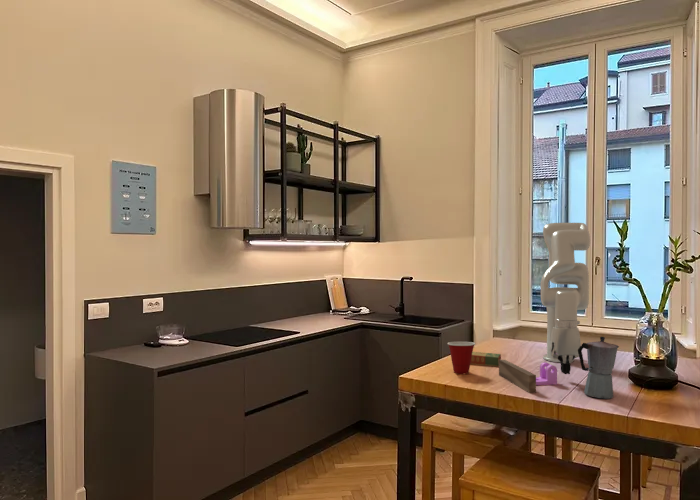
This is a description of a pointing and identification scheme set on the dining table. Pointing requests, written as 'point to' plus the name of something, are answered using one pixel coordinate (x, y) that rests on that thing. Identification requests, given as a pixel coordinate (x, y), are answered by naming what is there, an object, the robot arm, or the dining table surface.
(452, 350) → the plastic cup
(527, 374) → the walnut board
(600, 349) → the moka pot
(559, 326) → the robot arm
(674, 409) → the dining table surface
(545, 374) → the bracket
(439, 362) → the dining table surface
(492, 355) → the carton
